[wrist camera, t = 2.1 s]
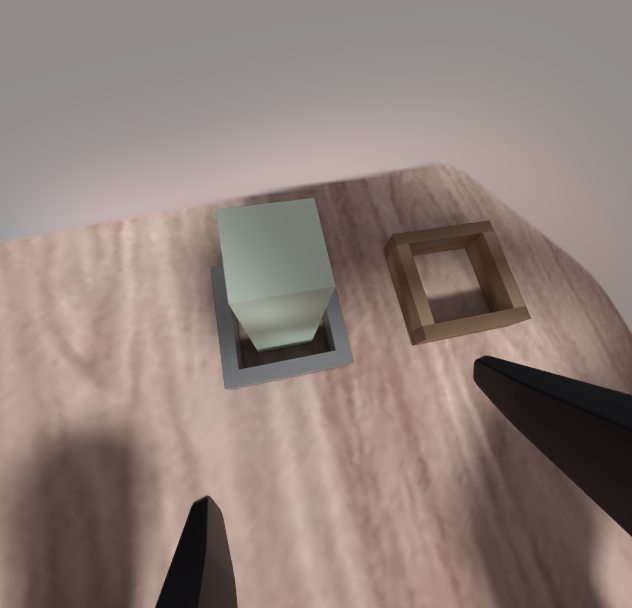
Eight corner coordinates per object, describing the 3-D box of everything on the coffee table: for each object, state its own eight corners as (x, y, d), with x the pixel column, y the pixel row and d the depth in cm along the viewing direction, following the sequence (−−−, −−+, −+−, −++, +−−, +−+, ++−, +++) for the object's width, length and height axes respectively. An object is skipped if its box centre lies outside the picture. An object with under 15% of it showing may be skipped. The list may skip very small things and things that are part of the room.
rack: (507, 326, 25) (531, 318, 22) (412, 345, 23) (426, 339, 21) (471, 236, 27) (489, 220, 25) (383, 249, 26) (393, 234, 23)
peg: (311, 342, 23) (335, 286, 11) (258, 352, 22) (228, 304, 11) (301, 293, 24) (314, 197, 12) (251, 302, 23) (216, 209, 12)
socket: (346, 365, 22) (353, 362, 20) (231, 389, 21) (224, 388, 19) (322, 264, 25) (326, 250, 22) (218, 280, 23) (210, 266, 21)
